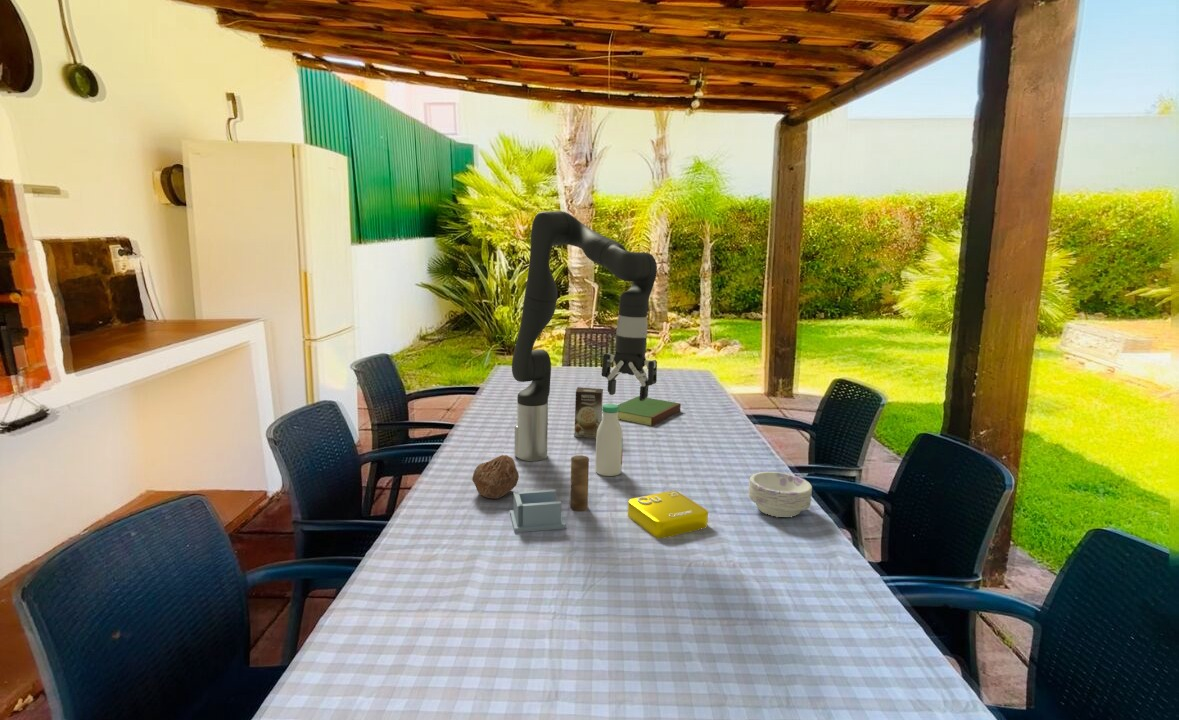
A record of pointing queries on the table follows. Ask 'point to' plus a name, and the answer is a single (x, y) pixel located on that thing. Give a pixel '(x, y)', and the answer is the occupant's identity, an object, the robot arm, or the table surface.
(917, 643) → the table surface
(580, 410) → the coffee box
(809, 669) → the table surface
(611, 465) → the milk bottle
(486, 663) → the table surface
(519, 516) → the slate bracket
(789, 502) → the paper bowls
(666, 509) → the element tile
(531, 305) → the robot arm
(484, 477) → the decorative rock
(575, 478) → the walnut peg
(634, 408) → the hardcover book
